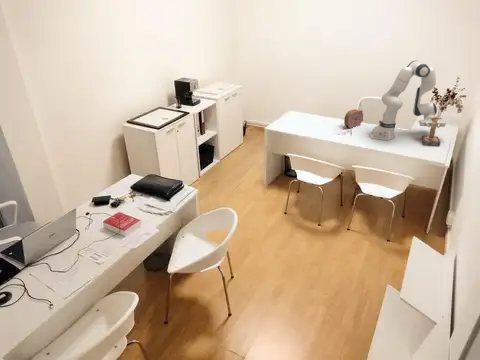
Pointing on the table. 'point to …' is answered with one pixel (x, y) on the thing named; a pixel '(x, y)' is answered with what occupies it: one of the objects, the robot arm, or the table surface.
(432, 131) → the eyeglasses stand
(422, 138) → the display plinth
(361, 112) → the face sculpture
